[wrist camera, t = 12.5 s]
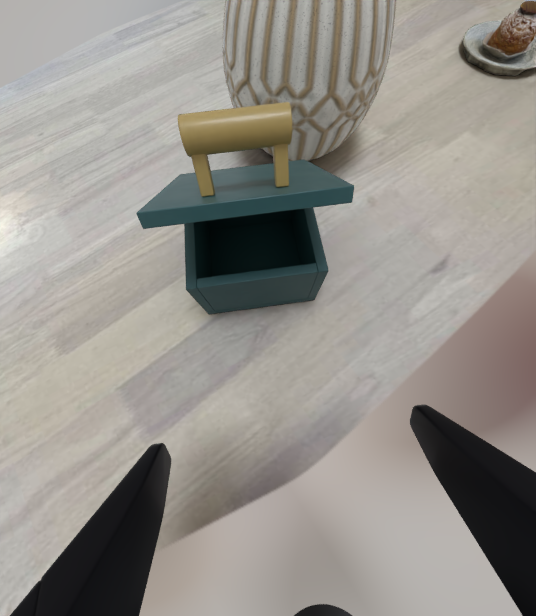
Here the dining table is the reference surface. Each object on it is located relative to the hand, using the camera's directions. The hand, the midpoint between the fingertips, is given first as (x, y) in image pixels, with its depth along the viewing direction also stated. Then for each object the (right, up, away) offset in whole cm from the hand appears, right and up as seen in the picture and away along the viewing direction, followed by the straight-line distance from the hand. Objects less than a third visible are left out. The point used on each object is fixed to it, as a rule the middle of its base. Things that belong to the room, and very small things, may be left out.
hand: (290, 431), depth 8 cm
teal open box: (-2, +9, +16) cm, 19 cm away
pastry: (+34, +43, +27) cm, 61 cm away
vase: (+3, +27, +22) cm, 35 cm away
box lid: (-2, +12, +8) cm, 15 cm away
